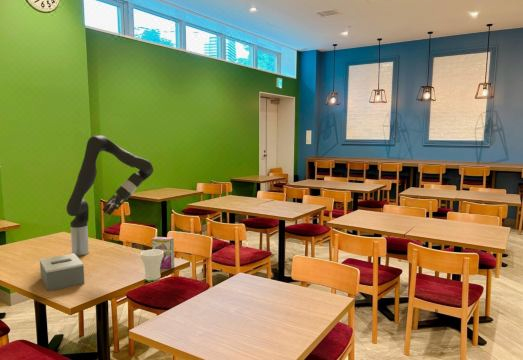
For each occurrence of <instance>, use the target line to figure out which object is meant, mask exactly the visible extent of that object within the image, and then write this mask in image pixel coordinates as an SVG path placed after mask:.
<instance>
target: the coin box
mask: <svg viewBox="0 0 523 360" xmlns="http://www.w3.org/2000/svg"><path fill="white" fill-rule="evenodd" d="M56 263H57V264H56ZM39 265H40V266H39V269H40V279H41V280H42V283H43V285H44V287H45V289H46V291H47V292H51V291H54V290H55V291H56V290H60V289H65V288H69V287H74V286H78V285H83V284H85V270H84V269H85V268H84V262H83V261H82V260H81V259H80V258H79V257H78V256H76V255H75V253H73V254H72V253H69V254H63V255H62V254H61V255H56V256H51V257H45V258H39Z"/></svg>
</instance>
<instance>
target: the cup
mask: <svg viewBox="0 0 523 360" xmlns="http://www.w3.org/2000/svg"><path fill="white" fill-rule="evenodd" d="M163 256H164V252H163V251H162V250H158V249H152V248H151V249H146V250H144V251H141V252H140V259H141V260H142V263H143V266H144V271H145V272H144V280H145V281H147V282H148V283H151V282H155V283H156V282H158V280H160V279H161V268H160V265H161V261H162V258H163Z"/></svg>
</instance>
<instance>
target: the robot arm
mask: <svg viewBox="0 0 523 360" xmlns="http://www.w3.org/2000/svg"><path fill="white" fill-rule="evenodd" d="M100 152H106V153H109V154H111V155H113V156H114V157H115V158H116V159H117V160H118V161H120V163H123V164H125V165H127V166H128V167H130V168H131V169H133V168H136V169H138V171H137V172H134V173H133V172H132V174H131V175H130V176H129V177H128V178H127V179H126V180H124V182H123V183H122V184H121V185H120V186H119V187H118V188H117V189H116V191H115V193H116V194H114V195H112V196H111V197H110V198H109V199H108V200H107V201H106V205H105V206H103V208H102V211H103V213H106V214H107V215H109V216H110V215H112V213H113V212H114V211H116V210H119V208H121V206H122V205H123V204H124V203H125V201H127V200H128V199H129V198H130V197H131V196H132V195H133V193H135V192H136V190H137V188H138V187H139V186H141V184H142V183H143V182H144V181H146V180H147V179H148V178H149V177H151V175H152V174H153V172H154V167H153V164H152V162H151V161H150V160H148V159H146V158H142V157H140V156H137V155H135V154H133V153H132V152H129V151H128V150H125V149H124V148H122V147H120V146H119V145H117V144H116V143H115V142H113V141H112V140H110V139H109V138H108V137H106V136H105V135H101V134H100V135H93V136H90V137H89V138H88V140H87V142H86V146H85V152H84V157H83V160H82V163H81V166H80V169H79V172H78V175H77V179H76V182H75V185H74V188H73V191H72V193H71V195H70V197H69V199H68V201H67V204H66V212H67V213H66V214H68V216H71V217H74V218H73V219H72V220H71V221H70V223H69V224H70V236H71V237H70V239H71V254H73V253H75V255H76V256H77V257H78V256H85V255H87V254H89V252H90V251H89V250H90V249H89V247H90V246H89V230H88V229H89V227H88V222H89V217H90V214H89V213H90V210H89V203H88V202H87V200H86V199H84V197H85V195H86V194H87V193H88V191H89V190H90V189H91V188H92V187H93V185H94V184H95V181H96V177H97V174H98V171H97V170H98V169H97V159H98V157H99V154H100Z"/></svg>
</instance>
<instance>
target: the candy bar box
mask: <svg viewBox="0 0 523 360" xmlns="http://www.w3.org/2000/svg"><path fill="white" fill-rule="evenodd" d="M151 249H158V250H162V251H163V252H164V256H163V258H162V261H161V265H160V269H173V268H174V266H175V238H174V237H169V236H168V237H164V236H154V237H153V238H151Z"/></svg>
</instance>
